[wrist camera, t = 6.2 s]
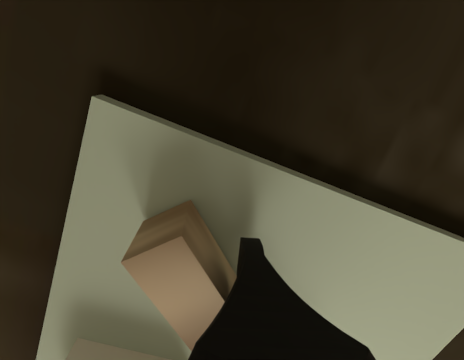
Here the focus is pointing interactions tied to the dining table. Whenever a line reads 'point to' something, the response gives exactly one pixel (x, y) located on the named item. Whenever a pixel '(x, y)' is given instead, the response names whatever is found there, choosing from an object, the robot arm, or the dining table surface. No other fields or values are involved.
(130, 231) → the board
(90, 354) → the block
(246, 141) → the dining table surface
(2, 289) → the dining table surface
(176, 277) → the leg
